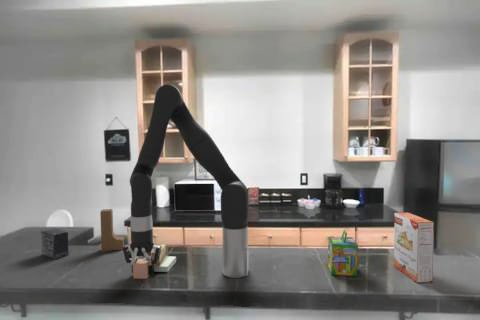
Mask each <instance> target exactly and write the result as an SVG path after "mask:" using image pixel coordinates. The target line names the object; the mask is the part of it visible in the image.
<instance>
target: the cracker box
mask: <svg viewBox="0 0 480 320" xmlns="http://www.w3.org/2000/svg"><path fill="white" fill-rule="evenodd" d="M393 223H394V228H393V229H394V233H393V234H394V236H393V238H394V240H393V243H394V244H393V247H394V249H393V267H394V268H396V269H397V270H399V271H400V272H401V271H402V272H401V273H403V274H404V275H405V276H407V277H408V276H409V279H411V278H412V279H413V280H412V279H411V280H412V281H413V282H415V281H416V282H428V283H431V282H430V281H433V279H434V276H433V275H434V239H435V237H434V234H435V233H434V229H435V225H434V224H435V223H434V221H431V220H429V219H425V218H424V217H421V216H418V215H416V214H413V213H411V212H394V222H393ZM416 282H415V283H416Z"/></svg>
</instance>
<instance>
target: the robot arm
mask: <svg viewBox="0 0 480 320" xmlns="http://www.w3.org/2000/svg"><path fill="white" fill-rule="evenodd" d="M154 95H155V97H154V100H153V101H154V102H153V107H152V114H151V117H150V121H149V125H148V128H147V132H146V134H145V138H144V140H143V143H142V145H141V148H140V151H139V154H138V156H137V157H138V158H137V161H136V164H135V166H134V168H133V169H132V172H131V175H130V177H129V185H130V189H131V190H130V191H131V202H130V224H129V225H130V226H129V227H130V244H125V245H124V247H123V250H122V251H123V255H124V259H125V262H126V263H127V264H131V273H132V274H133V264H134V263H135V262H136V261H137V260H138V259H139V257H144V258H145V259H146V260H147V262H148V264H149V265H148V275H150V276H152V274H153V273H154V272H155V271H154V264H156V263H157V262H158V261H159V257H160V253H161V248H162V247H161V246H155V245H154V244H155V243H154V231H153V230H154V229H153V225H154V224H153V216H152V210H153V209H152V195H153V194H152V192H153V181H152V180H153V179H152V177H153V173H154V170H155V168H156V167H157V165H158V163H159V160H160V158H161V155H162V153H163V149H164V145H165V140H166V135H167V130H168V125H169V122H170V120H171V122H172V123H173V124H174V126H175V127H176V128H177V131H178V132H179V133H180V136H181V138H182V140H183V142H184V143H185V146H186V148H187V149H188V151H189V152H190V154H191V155H192V156H193V158H194V159H195V160H196V161H197V163H198V164H199V165H200V166H201V167H202V168H203V169H204V170H205V171H206V172H207V173H209V174H210V176H212V178H213V179H214V180H215V182H216V183H217V185H218V186H219V188H220V190H221V192H220V217H221V221H222V223H221V224H222V225H221V226H222V227H221V228H222V232H221V234H222V274H223V275H224V276H225V277H227V278H232V279H238V278H244V277H248V275H249V269H250V268H249V267H250V266H249V263H250V262H249V239H248V238H249V233H248V232H249V223H248V222H249V220H248V203H247V202H248V198H249V190H248V188H247V186H246V184H245V183H244V182H243V181H242V180H241V179H240V177H239V176H238V175H237V174H236V173H235V171H234V170H233V169H232V168H231V167H230V166H229V163H228V162H227V160H226V159H225V157H224V155H223V153H222V152H221V150H220V148H219V146H218V145H217V144H216V142H215V141H214V140H213V138H212V137H211V135H210V133H208V131H207V130H206V129H205V128H204V127H203V126H202V124H200V123H199V122H198V120H196V118H195V117H194V116H193V115H192V113H191V112H190V109H189V108H188V106H187V104H186V103H185V101H184V97H183V95H182V94H181V91H180V90H179V89H178V88H177V87H176V86H175V85H173V84H171V83H170V84H169V83H166V84H163V85H161V86H159V87H158V88H157V90H156V92H155V94H154ZM152 249H154V252H155V256H154V259H153V255H152V252H151V251H152ZM131 250H132V251H131ZM131 252H133V254H132V253H131Z"/></svg>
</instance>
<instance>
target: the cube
mask: <svg viewBox="0 0 480 320" xmlns="http://www.w3.org/2000/svg"><path fill="white" fill-rule="evenodd" d="M148 265H149V264H148V262H147V260H146V259H144V258H138V259H137V261H136V262H135V263H134V264H133V273H132V279H145V280H147V279H148V278H149V277H151V275H148Z"/></svg>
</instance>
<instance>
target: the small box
mask: <svg viewBox="0 0 480 320" xmlns="http://www.w3.org/2000/svg"><path fill="white" fill-rule="evenodd" d="M40 233H41V256H43V257H46V258H49V259H51V260H58V259H60V258H64V257H68V256H69V255H70V254H69V231H66V230H63V229H61V228H60V229H59V228H52V229H47V230H41V232H40Z"/></svg>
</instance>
